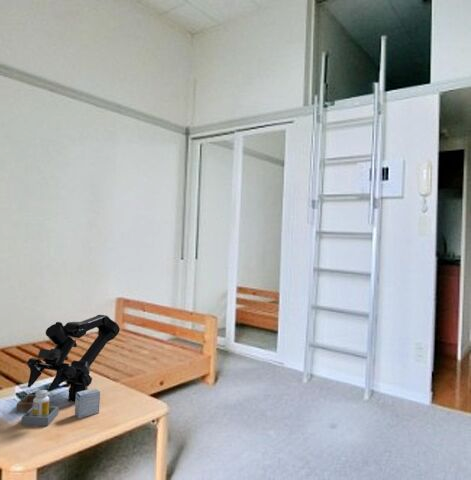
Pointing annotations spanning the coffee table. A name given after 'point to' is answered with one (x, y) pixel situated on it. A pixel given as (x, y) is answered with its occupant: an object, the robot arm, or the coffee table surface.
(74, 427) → the coffee table surface
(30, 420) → the tray
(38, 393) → the supplement bottle
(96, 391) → the medicine box
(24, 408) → the holder
